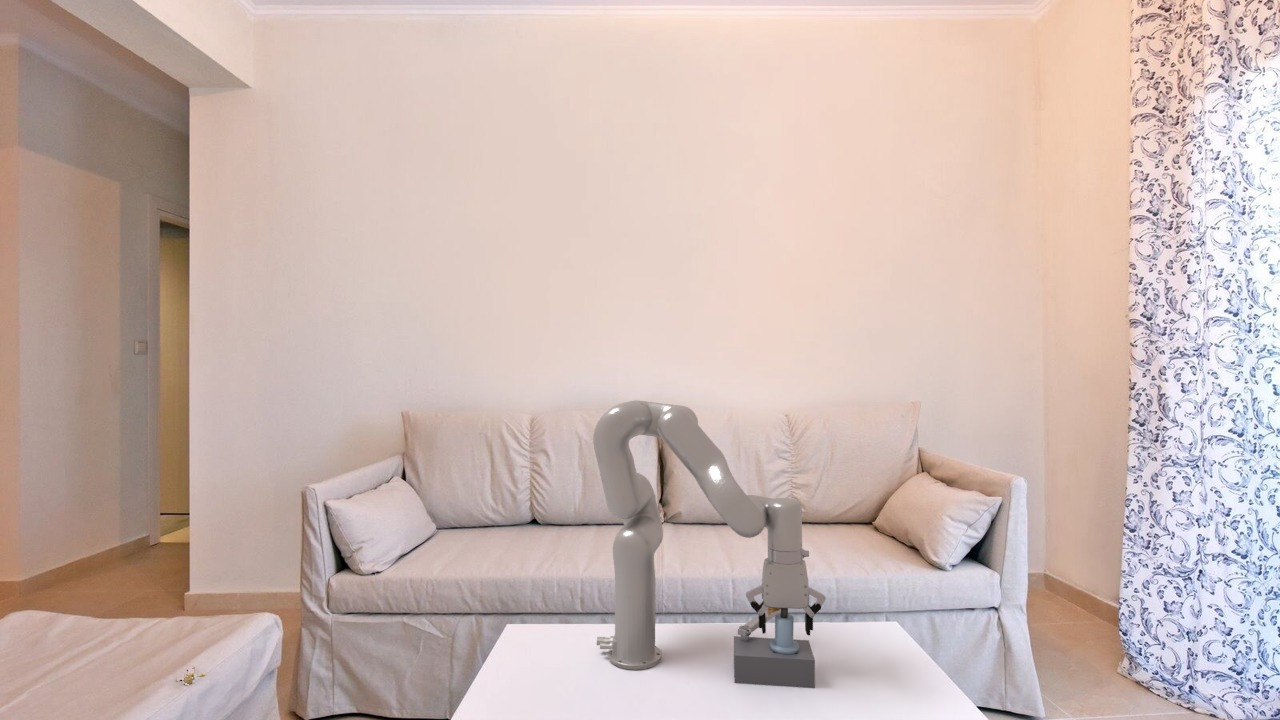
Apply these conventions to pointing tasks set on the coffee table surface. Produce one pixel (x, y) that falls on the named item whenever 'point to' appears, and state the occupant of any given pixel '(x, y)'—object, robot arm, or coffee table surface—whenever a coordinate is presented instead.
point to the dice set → (190, 675)
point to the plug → (784, 634)
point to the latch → (757, 622)
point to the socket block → (772, 664)
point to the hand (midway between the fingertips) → (785, 632)
